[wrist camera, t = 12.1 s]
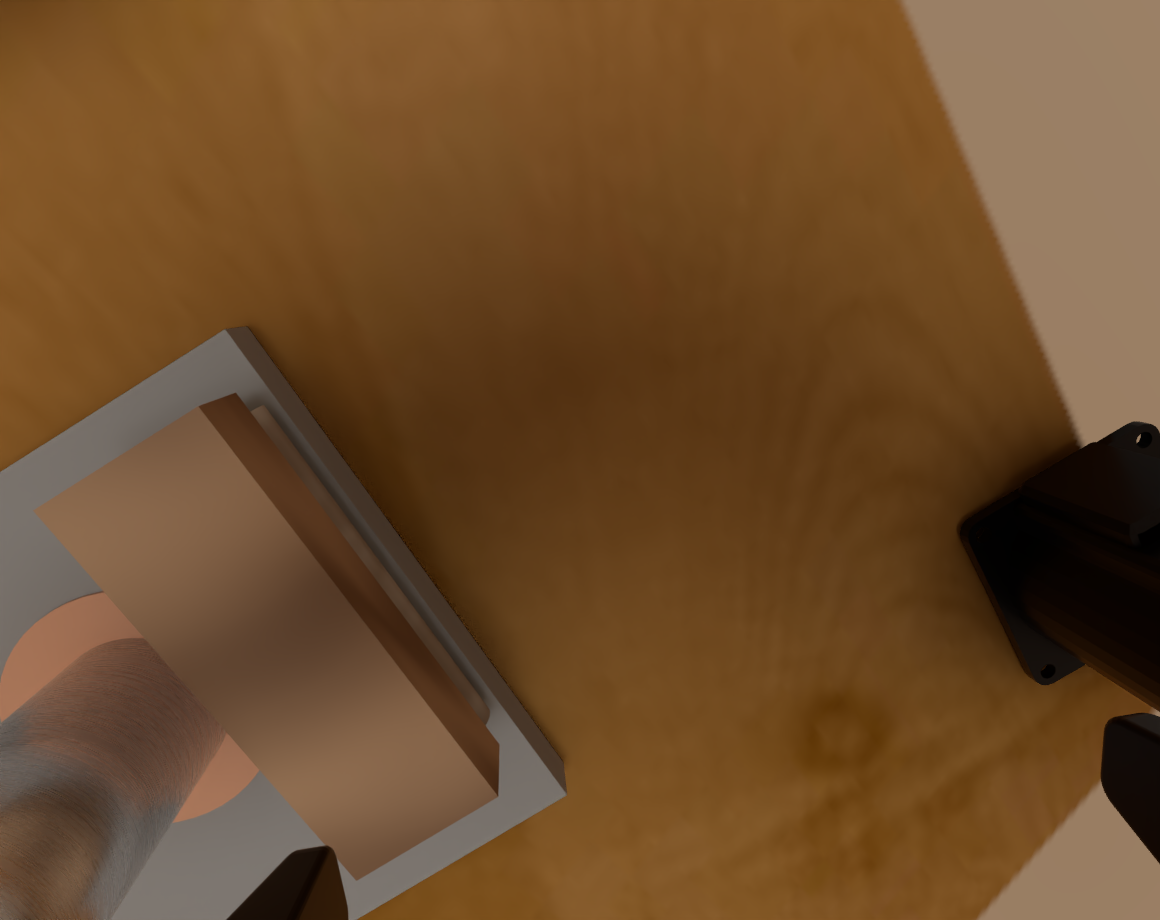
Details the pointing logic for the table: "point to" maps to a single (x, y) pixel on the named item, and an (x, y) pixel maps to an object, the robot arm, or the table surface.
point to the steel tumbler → (95, 780)
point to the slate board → (231, 781)
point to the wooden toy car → (285, 629)
